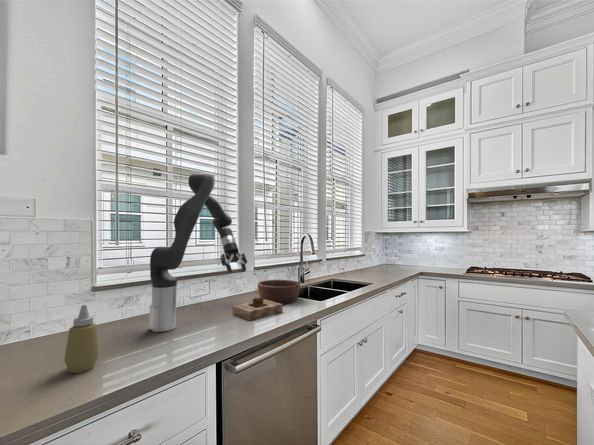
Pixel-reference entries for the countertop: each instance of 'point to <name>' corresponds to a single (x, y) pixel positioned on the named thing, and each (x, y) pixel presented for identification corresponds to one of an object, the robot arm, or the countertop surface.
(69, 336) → the squeeze bottle
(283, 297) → the wooden bowl
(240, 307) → the wooden block with hole
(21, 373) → the countertop surface
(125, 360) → the countertop surface
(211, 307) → the countertop surface
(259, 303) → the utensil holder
